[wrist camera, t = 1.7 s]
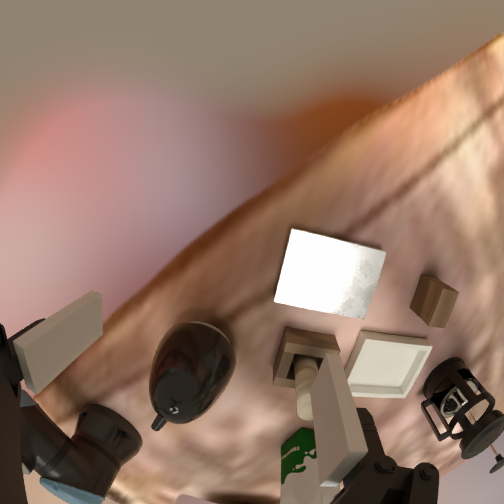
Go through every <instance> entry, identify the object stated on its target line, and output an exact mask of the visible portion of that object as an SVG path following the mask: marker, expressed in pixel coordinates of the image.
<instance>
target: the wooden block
mask: <svg viewBox="0 0 504 504" xmlns="http://www.w3.org/2000/svg"><path fill="white" fill-rule="evenodd" d="M458 293H459V292H458V291H456V290H455V289H453V288H451V287H450V286H448V285H447V284H445V283H443V282H442V281H440V280H439V279H437V278H433V277H429V276H425V275H421V277H420V280H419V283H418V286H417V289H416V292H415V295H414V298H413V300H412V303H411V306H410V308H411V309H412V310H413V311H414V312H415V313H416V314H417V315H418V316H419V317H420V318H421V319H422V320H423V321H424V322H425V323H426V324H427V325H428V326H432V327H439V328H445V326H446V324H447V322H448V319H449V317H450V314H451V312H452V309H453V307H454V304H455V301H456V299H457V296H458Z"/></svg>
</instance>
